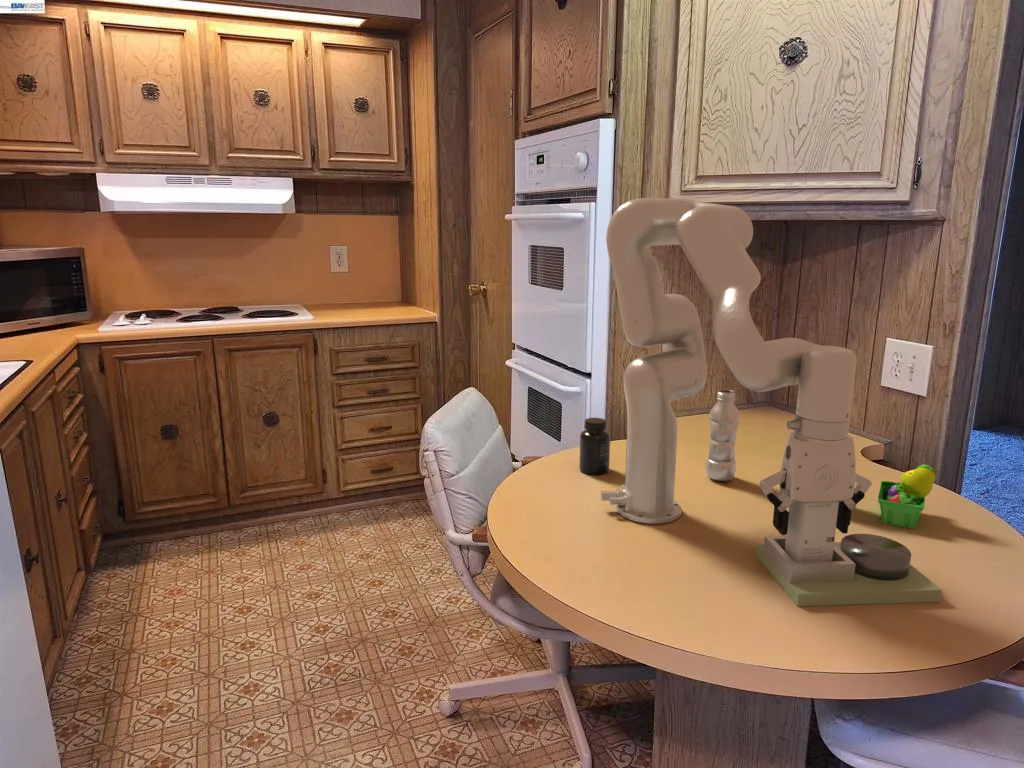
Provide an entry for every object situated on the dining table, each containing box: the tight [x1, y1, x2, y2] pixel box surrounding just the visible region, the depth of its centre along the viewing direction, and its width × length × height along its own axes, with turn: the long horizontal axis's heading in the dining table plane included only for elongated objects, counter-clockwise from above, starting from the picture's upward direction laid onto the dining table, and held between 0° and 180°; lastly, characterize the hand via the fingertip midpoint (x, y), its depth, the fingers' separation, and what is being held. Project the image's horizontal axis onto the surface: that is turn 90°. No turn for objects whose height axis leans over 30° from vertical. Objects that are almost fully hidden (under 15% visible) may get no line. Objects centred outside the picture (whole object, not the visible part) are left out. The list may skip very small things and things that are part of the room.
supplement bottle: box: [578, 417, 611, 476], centre depth 156 cm, size 7×7×12 cm
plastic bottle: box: [705, 389, 741, 482], centre depth 150 cm, size 6×7×20 cm
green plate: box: [754, 533, 943, 607], centre depth 110 cm, size 22×16×5 cm
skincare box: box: [785, 501, 839, 563], centre depth 109 cm, size 6×4×12 cm
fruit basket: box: [877, 464, 936, 529], centre depth 131 cm, size 11×9×11 cm
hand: (810, 530), depth 109 cm, fingers open, 9 cm apart
